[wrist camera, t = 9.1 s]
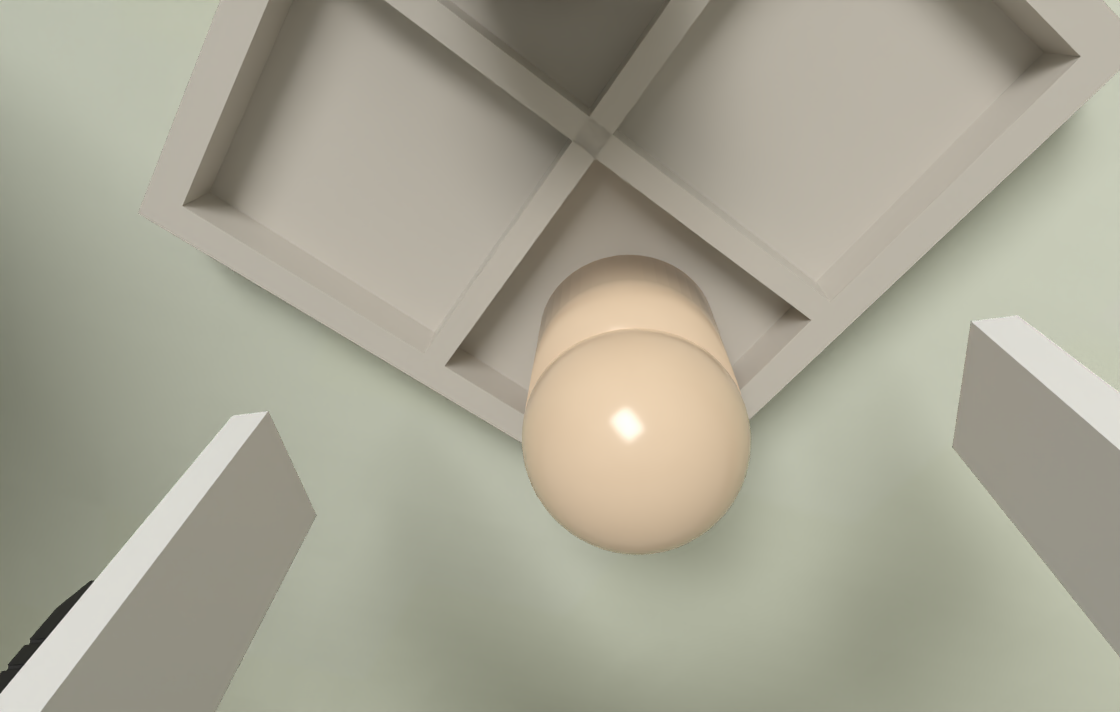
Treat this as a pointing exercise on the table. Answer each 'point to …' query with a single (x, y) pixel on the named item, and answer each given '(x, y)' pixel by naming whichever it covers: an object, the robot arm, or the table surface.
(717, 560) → the table surface
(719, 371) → the egg
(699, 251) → the divided tray
